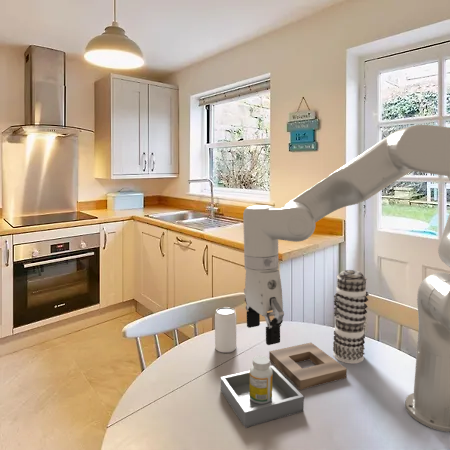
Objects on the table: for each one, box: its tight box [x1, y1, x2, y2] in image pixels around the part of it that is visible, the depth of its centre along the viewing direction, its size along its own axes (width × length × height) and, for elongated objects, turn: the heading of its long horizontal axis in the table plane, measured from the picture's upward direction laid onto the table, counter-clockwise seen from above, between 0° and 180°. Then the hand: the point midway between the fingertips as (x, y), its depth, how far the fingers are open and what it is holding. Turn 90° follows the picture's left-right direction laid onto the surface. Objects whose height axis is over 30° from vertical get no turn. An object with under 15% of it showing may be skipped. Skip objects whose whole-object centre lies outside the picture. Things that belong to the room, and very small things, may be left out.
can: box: [214, 306, 237, 354], centre depth 113 cm, size 6×6×12 cm
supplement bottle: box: [249, 355, 273, 404], centre depth 88 cm, size 5×5×10 cm
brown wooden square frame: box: [268, 342, 348, 391], centre depth 102 cm, size 16×14×2 cm
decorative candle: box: [332, 269, 369, 364], centre depth 107 cm, size 9×9×25 cm
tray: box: [220, 364, 305, 429], centre depth 88 cm, size 14×14×4 cm
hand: (262, 334), depth 86 cm, fingers open, 9 cm apart
